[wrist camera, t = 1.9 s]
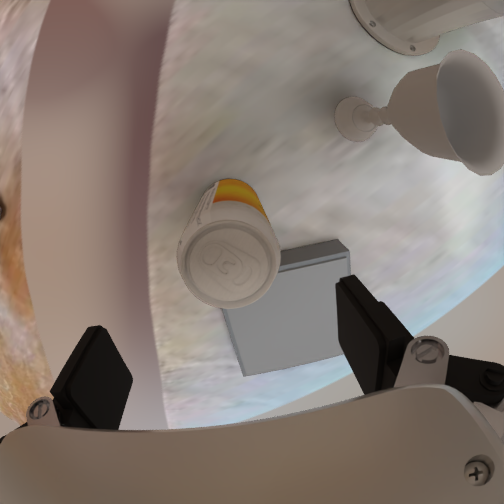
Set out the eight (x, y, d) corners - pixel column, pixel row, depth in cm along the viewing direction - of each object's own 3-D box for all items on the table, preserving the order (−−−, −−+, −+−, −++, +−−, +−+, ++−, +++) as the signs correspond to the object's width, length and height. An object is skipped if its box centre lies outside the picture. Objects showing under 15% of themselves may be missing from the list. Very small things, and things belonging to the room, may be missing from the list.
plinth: (215, 265, 32) (213, 281, 28) (337, 239, 32) (350, 252, 28) (242, 357, 37) (243, 378, 34) (343, 335, 37) (353, 353, 33)
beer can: (235, 245, 31) (238, 330, 17) (188, 212, 30) (153, 277, 16) (271, 201, 30) (306, 257, 16) (224, 166, 28) (216, 189, 14)
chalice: (394, 131, 28) (522, 143, 11) (351, 163, 29) (470, 199, 12) (359, 76, 25) (476, 36, 8) (312, 107, 26) (412, 74, 10)
